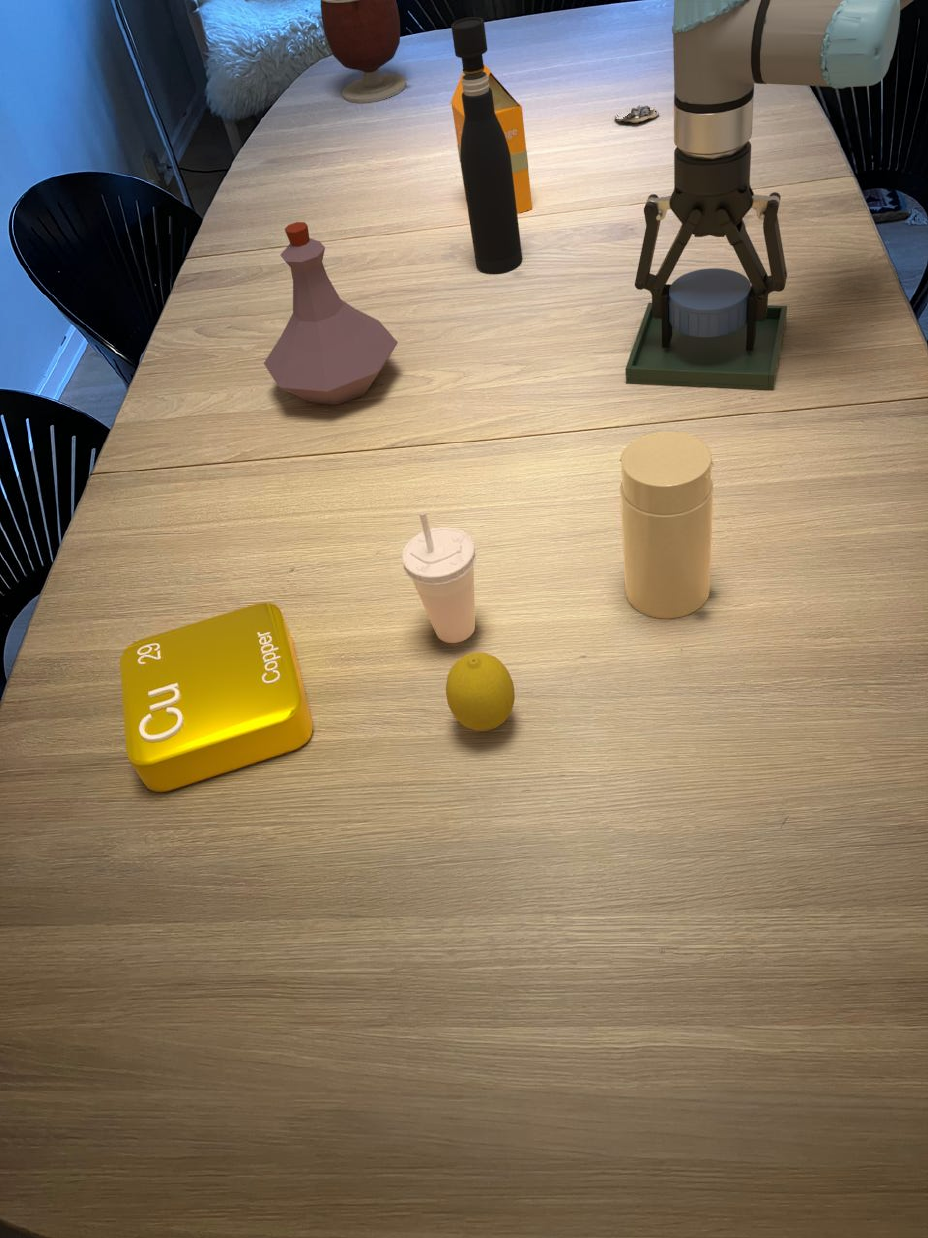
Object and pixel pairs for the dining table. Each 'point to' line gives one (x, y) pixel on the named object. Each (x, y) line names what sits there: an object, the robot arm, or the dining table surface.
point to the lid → (709, 302)
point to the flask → (324, 333)
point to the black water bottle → (485, 159)
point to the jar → (667, 523)
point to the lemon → (480, 691)
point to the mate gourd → (364, 44)
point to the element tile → (213, 697)
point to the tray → (708, 355)
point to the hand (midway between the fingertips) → (708, 342)
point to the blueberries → (639, 114)
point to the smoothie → (444, 578)
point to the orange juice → (512, 128)
